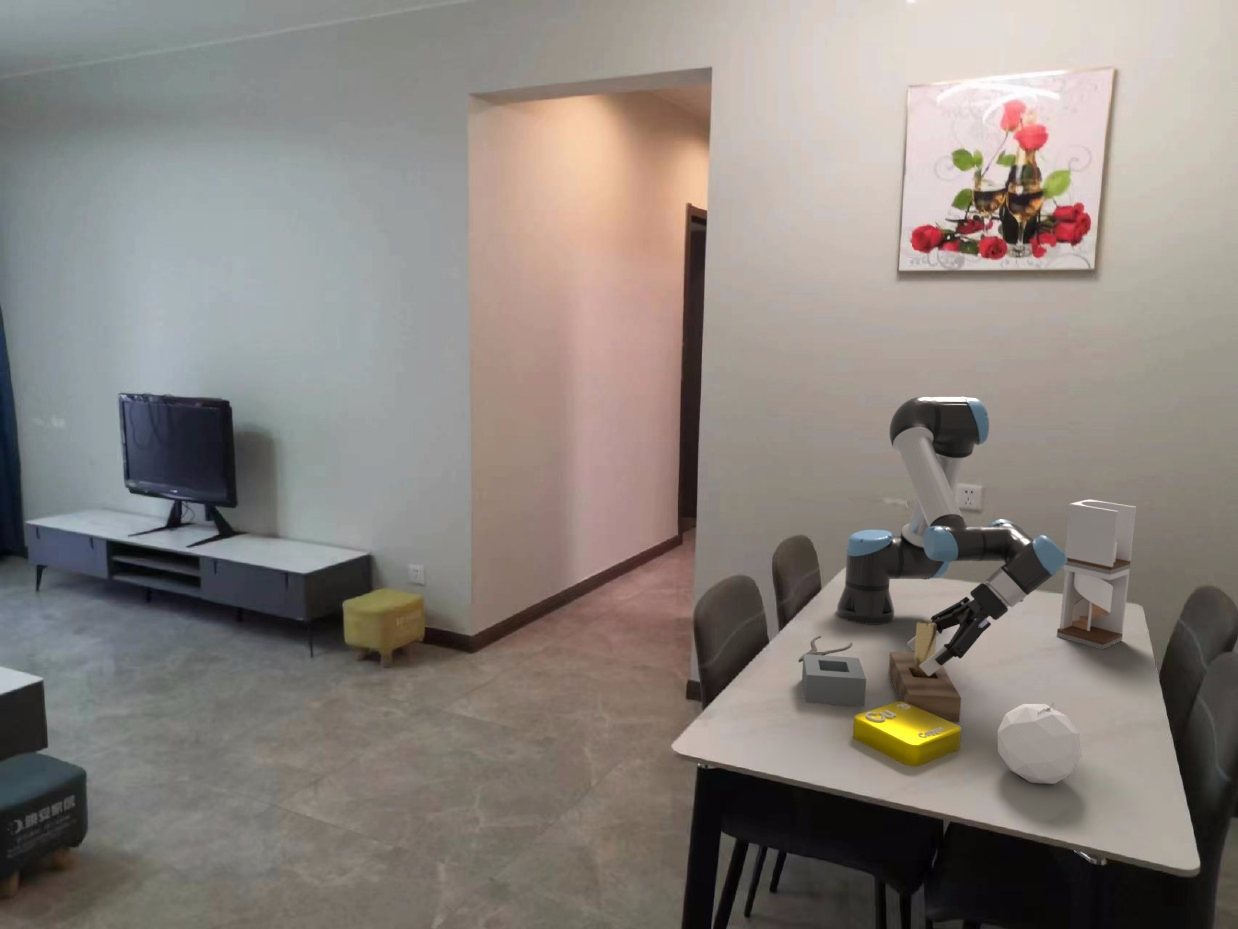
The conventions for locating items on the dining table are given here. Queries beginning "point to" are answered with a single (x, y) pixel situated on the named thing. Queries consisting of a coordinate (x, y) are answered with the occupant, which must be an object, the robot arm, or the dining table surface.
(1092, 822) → the dining table surface
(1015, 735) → the geodesic sphere
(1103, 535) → the spiral staircase model
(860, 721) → the element tile
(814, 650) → the pliers
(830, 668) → the seat block
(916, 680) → the beam
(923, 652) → the golden rounded rod
